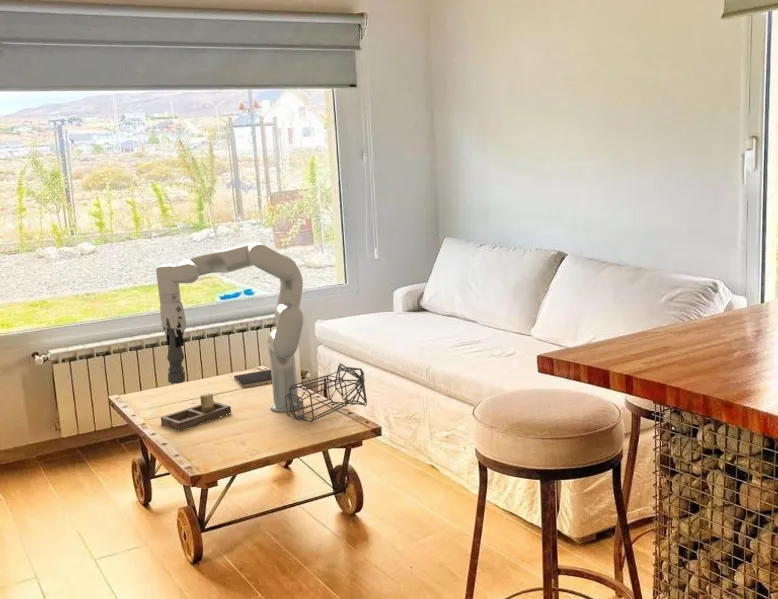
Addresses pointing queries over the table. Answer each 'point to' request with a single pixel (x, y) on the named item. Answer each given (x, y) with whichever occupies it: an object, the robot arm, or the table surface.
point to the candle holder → (175, 358)
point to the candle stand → (196, 414)
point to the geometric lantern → (359, 383)
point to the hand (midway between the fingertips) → (175, 345)
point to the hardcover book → (254, 378)
